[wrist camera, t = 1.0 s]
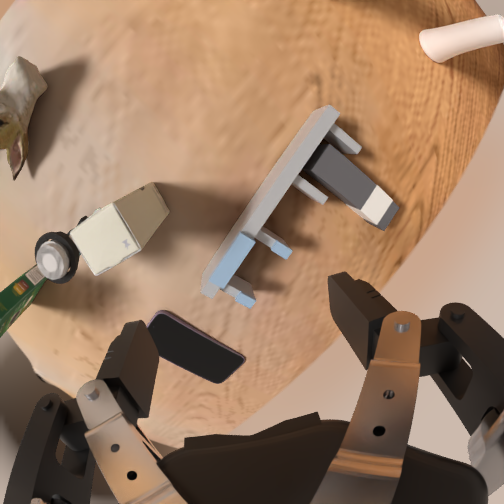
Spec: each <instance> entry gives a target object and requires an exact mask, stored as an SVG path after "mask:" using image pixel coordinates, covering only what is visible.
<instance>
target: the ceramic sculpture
mask: <svg viewBox="0 0 504 504" xmlns="http://www.w3.org/2000/svg"><path fill="white" fill-rule="evenodd" d="M46 89H47V83H46V82H45V80H44V79H43V78H42V76H41V75H40V73H39V71H38V68H37V67H36V66H35V65H33V64H32V63H30V62H29V61H28V60H26V59H24V58H22V57H19V56H18V57H17V58H16V60H15V61H14V62H13V63H12V64H11V65H10V66H9V68H8V70H7V72H6V75H5V79H4V83H3V85H2V87H1V89H0V149H7V160H8V163H9V165H10V167H11V170H12V173H13V180H14V181H15V179H16V178H17V176H18V174H19V173H20V171H21V169H22V167H23V165H24V162H25V160H26V157H27V153H28V130H27V128H28V124H29V121H30V118H31V114H32V111H33V109H34V106H35V103H36V100H37V99H38V97H39V96H40V95H42V94H43V93H44V92H45V91H46Z"/></svg>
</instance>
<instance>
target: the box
mask: <svg viewBox="0 0 504 504" xmlns="http://www.w3.org/2000/svg"><path fill="white" fill-rule="evenodd" d="M169 213H170V211H169V210H168V208H167V206H166V204H165V202H164V200H163V198H162V197H161V195H160V193H159V191H158V190H157V188H156V186H155V185H154V183H153V182H151V183H149V184H147V185H145V186H143V187H141V188H139V189H137V190H135V191H133V192H131V193H130V194H128V195H126V196H124V197H122V198H120V199H118V200H116V201H115V202H113V203H111V204H109V205H107V206H105V207H104V208H102V209H101V210H99V211H97V212H96V213H95V214H93V215H92V216H90V217H89V218H87V219H86V220H85V221H83V222H82V223H81V224H79V225H78V226H77V227H76V228H74V229H73V230H72V231H71V232H70V235H71V237H72V239H73V240H74V242H75V244H76V246H77V248H78V250H79V251H80V253H81V255H82V256H83V258H84V260H85V261H86V263H87V264H88V266H89V267H90V269H91V271H92V272H93V274H94V275H96V276H97V275H100V274H102V273H104V272H105V271H107V270H109V269H111V268H112V267H114V266H116V265H118V264H119V263H121V262H123V261H124V260H126V259H128V258H130V257H131V256H133V255H134V254H136V253H138V252H139V251H141V250H142V249H143V247H144V246H145V245H146V243H147V242H148V241H149V239H150V238H151V237H152V235H153V234H154V233H155V231H156V230H157V228H158V227H159V226H160V224H161V223H162V222H163V220H164V219H165V218H166V217H167V215H168V214H169Z"/></svg>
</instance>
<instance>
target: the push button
mask: <svg viewBox="0 0 504 504" xmlns="http://www.w3.org/2000/svg"><path fill="white" fill-rule="evenodd" d="M99 210H101V208H98V210H97V209H96V210H95V211H94V213H93V214H95V213H96V212H97V211H99ZM91 216H92V215H91ZM87 218H89V217H87V216H84V217H83V218H81V220H80V221H79V223H78V225H79V224H81V223H82V222H83V221H85V220H86V219H87ZM78 225H77V226H78ZM77 226H76V227H77ZM72 230H73V229H72ZM72 230H71V231H72ZM71 231H69V232H68V234H65V233H63V232H49V233H46V234H44V235H43V236H41V237H40V238H39V240H38V241H37V243H36V247H35V259H36V263H37V266H38V268H39V270H40V271H41V273H42V274H43V275H44V276H45V277H46V278H47V279H48V280H50V281H52V282H54V283H58V284H62V283H66V282H68V281H69V280H70V279H71V278H72V277H73V276H74V274H75V272H76V270H77V268H78V262H79V256H80V255H81V253H80V251H79V250H78V248H77V246H76V244H75V242H74V240H73V239H72V237H71V235H70V232H71ZM49 239H52V240H51V241H48V240H49ZM69 268H70V271H69V272H67V270H68V269H69Z"/></svg>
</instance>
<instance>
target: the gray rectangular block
mask: <svg viewBox="0 0 504 504" xmlns="http://www.w3.org/2000/svg"><path fill="white" fill-rule="evenodd" d="M302 170H303V171H304V172H306V173H307V174H308V175H310V176H311V177H312V178H314V179H315V180H316V181H317V182H319V183H320V184H321V185H323V186H324V187H325V188H326V189H328V190H329V191H330V192H332V193H333V194H334V195H335V196H337V197H338V198H339V199H340V200H342V201H343V202H344V203H345V204H346V205H347V206H348V207H349V208H351V209H352V210H353V211H354V212H355V213H357V214H358V215H359V216H360V217H362V218H363V219H364V220H365V221H367V222H368V223H369V224H371V225H373V226H375V227H377V228H379V229H381V230H383V231H385V229H386V228H387V226H388V225H389V223H390V222H391V220H392V218H393V217H394V215H395V214H396V212H397V211H398V209H399V207H398V206H397V205H396V204H395V203H394V202H393V200H392V199H391V198H390V197H389V196H388V195H387V194H386V193H385V192H384V191H383V190H382V189H381V188H380V187H379V186H378V185H376V184H375V183H374V182H373V181H372V180H371V179H370V178H368V177H367V176H366V175H365V174H364V173H363V172H362V171H361V170H360V169H359V168H357V167H356V166H355V165H354V164H353V163H352V162H351V161H349V160H348V159H347V158H346V157H345V156H344V155H342V154H341V153H340V152H339V151H338V150H336V149H335V148H334V147H333V146H332V145H330V144H321V145H318V146H317V148H316V149H315V151H314V152H313V154H312V155H311V157H310V158H309V159H308V161H307V162H306V164H305V165H304V167H303V168H302Z"/></svg>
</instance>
